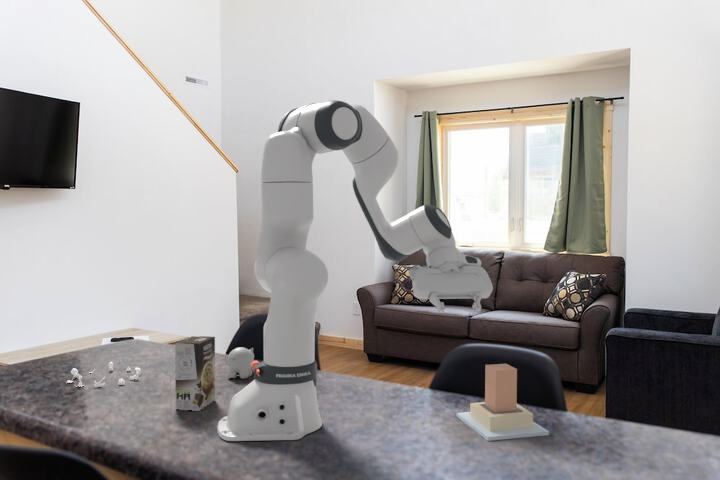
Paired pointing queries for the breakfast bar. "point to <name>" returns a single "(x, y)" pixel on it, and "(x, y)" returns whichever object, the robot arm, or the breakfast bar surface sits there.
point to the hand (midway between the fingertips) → (459, 310)
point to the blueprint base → (504, 432)
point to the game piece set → (75, 372)
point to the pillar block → (501, 387)
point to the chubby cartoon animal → (240, 362)
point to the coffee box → (195, 372)
